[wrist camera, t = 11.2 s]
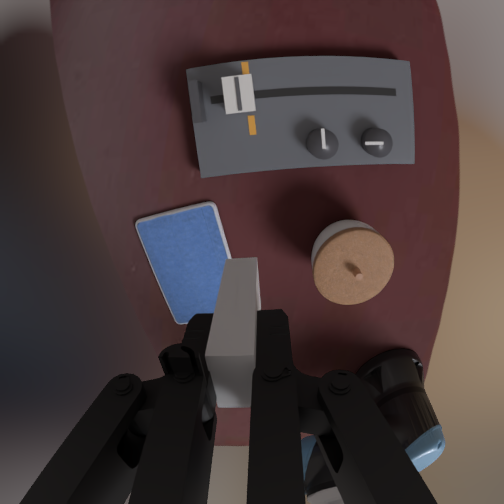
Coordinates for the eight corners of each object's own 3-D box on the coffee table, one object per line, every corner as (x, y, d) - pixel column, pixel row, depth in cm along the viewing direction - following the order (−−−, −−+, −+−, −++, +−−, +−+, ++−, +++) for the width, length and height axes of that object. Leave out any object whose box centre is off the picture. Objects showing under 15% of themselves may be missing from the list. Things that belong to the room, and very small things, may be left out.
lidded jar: (317, 200, 41) (331, 226, 33) (385, 218, 42) (412, 246, 33) (296, 268, 46) (304, 306, 37) (360, 281, 46) (379, 317, 38)
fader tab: (256, 110, 33) (255, 110, 29) (230, 113, 33) (225, 114, 29) (252, 78, 31) (251, 73, 27) (226, 81, 32) (221, 77, 27)
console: (406, 160, 38) (424, 168, 33) (204, 174, 40) (196, 183, 35) (401, 63, 32) (420, 58, 27) (190, 71, 34) (179, 66, 29)
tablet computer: (248, 311, 50) (248, 316, 49) (177, 322, 51) (175, 326, 50) (215, 198, 42) (214, 201, 40) (135, 218, 43) (131, 222, 42)
